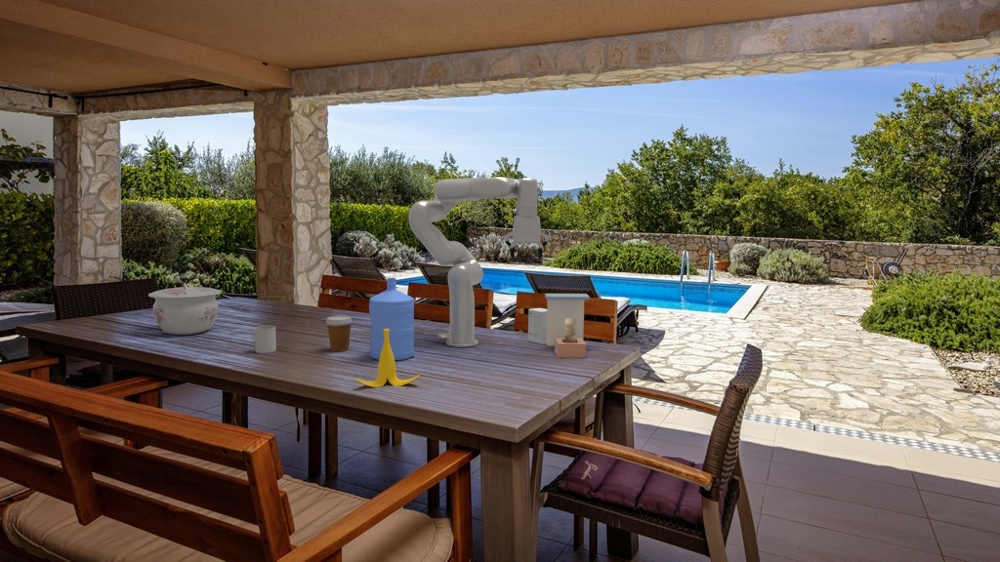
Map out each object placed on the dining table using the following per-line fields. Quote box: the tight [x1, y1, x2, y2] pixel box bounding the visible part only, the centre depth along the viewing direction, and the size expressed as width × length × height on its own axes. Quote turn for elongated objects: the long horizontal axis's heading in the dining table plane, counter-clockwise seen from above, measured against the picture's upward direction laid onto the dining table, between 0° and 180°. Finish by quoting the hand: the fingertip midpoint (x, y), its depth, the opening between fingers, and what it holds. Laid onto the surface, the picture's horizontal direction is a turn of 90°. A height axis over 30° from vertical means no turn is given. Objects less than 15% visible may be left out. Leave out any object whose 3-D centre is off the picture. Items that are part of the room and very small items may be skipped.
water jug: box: [368, 277, 415, 362], centre depth 225 cm, size 16×16×28 cm
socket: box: [554, 338, 587, 359], centre depth 231 cm, size 10×10×5 cm
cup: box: [254, 325, 277, 355], centre depth 233 cm, size 7×10×9 cm
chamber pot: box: [148, 282, 222, 336], centre depth 266 cm, size 28×28×21 cm
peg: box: [565, 318, 576, 343], centre depth 231 cm, size 4×4×12 cm
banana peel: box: [354, 329, 421, 388], centre depth 191 cm, size 17×19×17 cm
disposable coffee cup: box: [325, 315, 353, 352], centre depth 235 cm, size 10×10×12 cm
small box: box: [527, 307, 547, 345], centre depth 253 cm, size 8×6×13 cm
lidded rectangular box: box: [544, 293, 591, 347], centre depth 242 cm, size 16×8×20 cm, turn 91°
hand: (526, 258), depth 234 cm, fingers open, 9 cm apart
